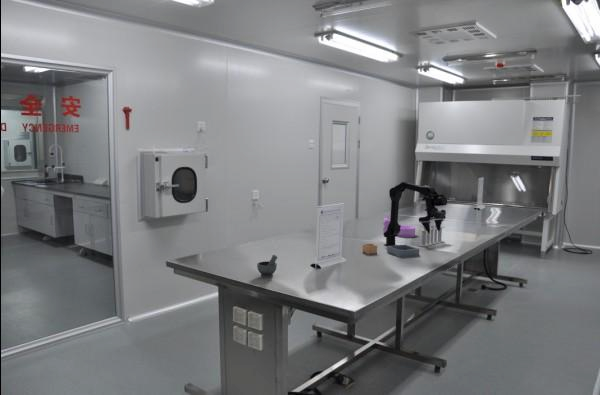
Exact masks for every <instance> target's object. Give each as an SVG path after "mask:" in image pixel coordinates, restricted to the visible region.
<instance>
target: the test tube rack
mask: <svg viewBox="0 0 600 395" xmlns="http://www.w3.org/2000/svg"><path fill="white" fill-rule="evenodd" d="M443 228H446V226H442V225H441V227H440V231H438V230H437V227H436V224H433V225H432V224H431V225H430V233H428V232H427V230H426V229H425V227H424V226H423V228H422V229H419V232H421V244H418V247H422V248H426V247H430V246H434V245H439V244H444V243H445V241H444V240H442V231H443Z"/></svg>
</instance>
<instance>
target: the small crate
mask: <svg viewBox="0 0 600 395" xmlns="http://www.w3.org/2000/svg"><path fill="white" fill-rule="evenodd" d="M362 253H364V254H366V255H375V254H377V253H378V245H377V244H374V243H364V244H363V243H362Z"/></svg>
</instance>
